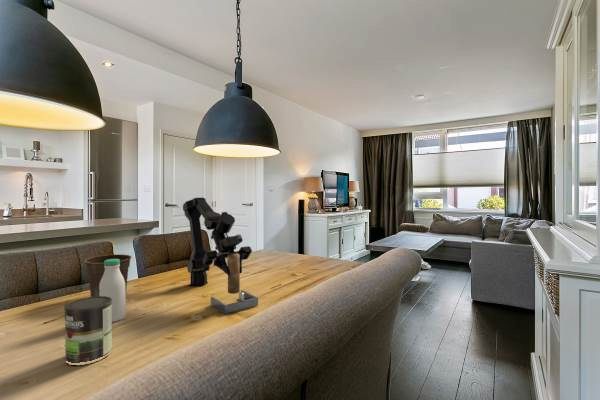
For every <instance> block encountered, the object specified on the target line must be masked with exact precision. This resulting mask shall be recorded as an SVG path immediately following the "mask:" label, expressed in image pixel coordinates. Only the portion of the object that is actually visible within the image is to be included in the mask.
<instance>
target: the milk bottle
mask: <svg viewBox="0 0 600 400" xmlns="http://www.w3.org/2000/svg"><path fill="white" fill-rule="evenodd" d="M119 266H120V259H108V260H105V261H104V267H105V271H104V274H103V277H102V279H101V281H100V284H99V296H106V297H110V298H112V303H111V305H112V323H114V322H115V323H116V322H119V321H121V320H123V319H124V318H126V315H127V314H126V313H127V307H126V304H127V302H126V301H127V300H126V297H127V291H126V292H125V280H124V278H123V276H122V274H121V272H120V269H119Z"/></svg>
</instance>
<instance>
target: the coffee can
mask: <svg viewBox="0 0 600 400" xmlns="http://www.w3.org/2000/svg"><path fill="white" fill-rule="evenodd" d="M111 303H112V298H110V297H106V296H94V297H91V296H87V297H82V298H78V299H75V300H72V301H70V302H68V303H66V304H65V305H64V307H63V309H64V326H65V329H64V331H65V333H64V334H65V337H64V338H65V340H64V341H65V342H64V343H65V360H66V361H68V362H71V363H80V362H87V361H92V360H95V359H98V358H100V357H103V356H105V355H107V354H108V353H109V352H110V351H111V350H112V351H113V346H112V345H113V343H112V340H113V339H112V336H113V333H112V330H113V329H112V327H113V326H112V323H113V322H112V305H111Z"/></svg>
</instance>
